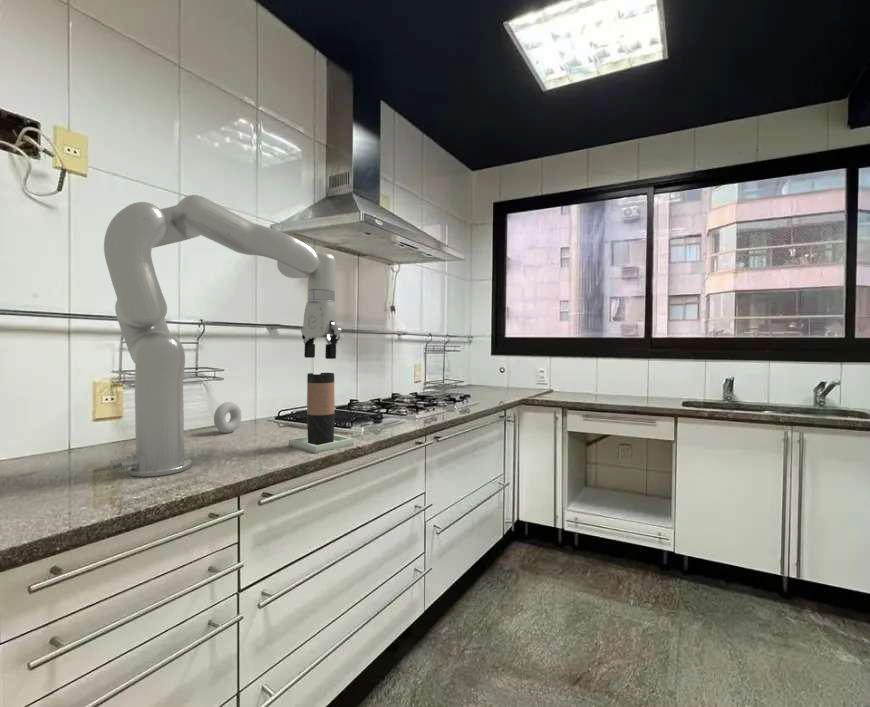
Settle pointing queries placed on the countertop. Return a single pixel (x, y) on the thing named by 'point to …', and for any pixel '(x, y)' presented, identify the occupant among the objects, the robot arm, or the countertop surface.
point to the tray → (304, 445)
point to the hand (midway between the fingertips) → (319, 358)
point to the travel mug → (320, 408)
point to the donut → (221, 414)
